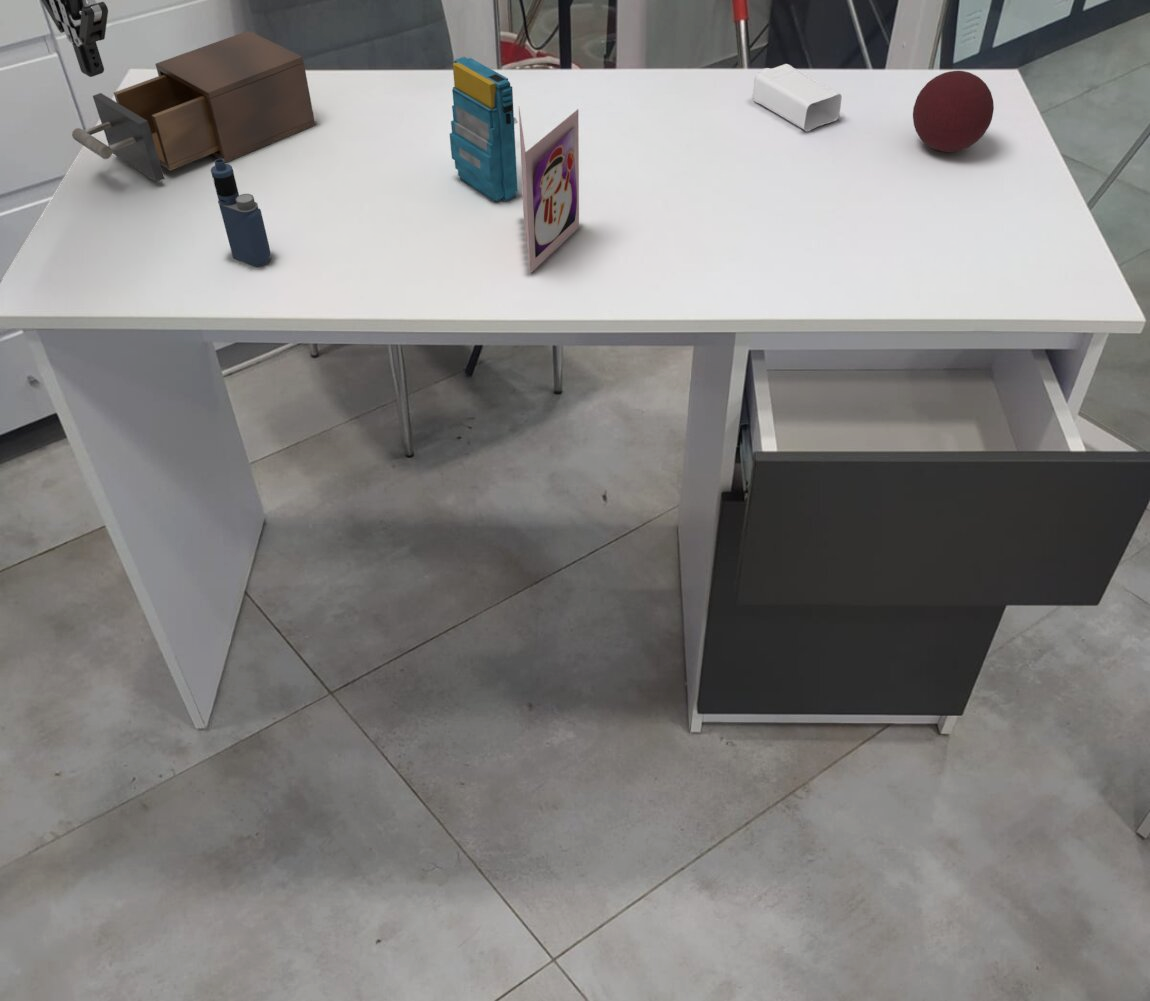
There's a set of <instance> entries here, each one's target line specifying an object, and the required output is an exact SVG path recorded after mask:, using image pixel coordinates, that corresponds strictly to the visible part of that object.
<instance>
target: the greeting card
mask: <svg viewBox="0 0 1150 1001" xmlns="http://www.w3.org/2000/svg"><path fill="white" fill-rule="evenodd" d="M520 108H521V107H518V119H519V120H518V122H519V144H520V145H519V146H520V165H521V185H522V186H521V188H522V210H523V225H524V233H525V241H526V248H527V256H528V264H529V273H530V274H532V273H533V272H534V271H536V269H537V268H539V267H540V265H542V263H544V262H545V261H546V260H547V259H548V258H549V257H550V256H551V255H552V254H553V253H554V252H555V251H556V250H557V249H558V248H559V247H560V246H561V245H563V243H565V241H566V240H568V239H569V237H570V236H571V235H572V234H574V233H575V232H576V231H577V230H578V229H579V228H580V164H579V162H580V156H579V155H580V154H579V153H580V152H579V149H580V148H579V146H580V144H579V141H580V140H579V139H580V138H579V133H580V132H579V126H580V125H579V108H577V109H575V111H573V113H571V114H570V115H569V116H567V117H566V118H565V119H563V121H562V122H560V123H559V124H558V125H557V126H555V127H554V128H552V130H551V131H549V132H548V133H547V134H546V135H544V136H543V137H542V138H541V139H539V141H538V142H537V141H536V143H534V145H533V146H531V147H530V148H529V149H528V150H527V151H526V144H525V136H524V130H523V121H522V115H521V109H520Z"/></svg>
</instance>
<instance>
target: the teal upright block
mask: <svg viewBox="0 0 1150 1001" xmlns="http://www.w3.org/2000/svg"><path fill="white" fill-rule="evenodd" d="M452 72H453V83H454V84H453V85H454V86H453V87H452V92H451V93H452V101H453V103H452V104H453V105H451V110H452V118H453V119H452V120H451V121H450V125H451V126H450V127H451V132H450V133H449V142H450V143H449V144H450V154H451V159H452V160H454V169H455V170H457V176H459V179H460V180H461V181H462V182H464V183H465V184H467V185H468V186H470V187H471V188H473V189H475V190H476V191H477V192H479V193H480V194H482V195H483V196H485V197H487V198H488V199H489V200H491V201H492V202H494V203H496V202H499V201H501V200H503V201H505V202H508V201H511V200H513V199H515V198H516V193H517V192H518V172H517V154H516V153H517V152H516V133H515V132H516V131H515V124H514V118H515V112H514V96H513V95H514V93H513V86H511V82H510V81H509V78H508V77H506V76H504V75H503V74H500V73H499V72H497V71H495V70H494V69H492V68H490V67H488V66H486V65H484V64H483V63H481V62H480V61H477V60H475V59H473V58H472V57H469V58H467V57H466V56H462V57H459V58H456V59H454V60H453V63H452Z"/></svg>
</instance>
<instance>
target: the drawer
mask: <svg viewBox="0 0 1150 1001" xmlns="http://www.w3.org/2000/svg"><path fill="white" fill-rule="evenodd" d="M113 96H114V99H115V100H113V99H112V98H110V97H109V96H107V95H105V94H104V93H102V92H99V93H97V94H94V95H92V98H93V102H94V104H95V107H96V111H97V114H98V117H99V120H100V124H98V125H95V126H92V127H89V128H87V129H82V128H79V127H77V128H74V129H73V130H72V132H71V136H72V139H73V140H74V141H76V142H77V143H78V144H80V145H82V146H83V147H85V148H86V149H88V150H89V151H90V152H93V153H94V154H95V155H97V156H98V157H100V158H101V159H104V160H108V159H110V158H111V157H112V155H114V156H115V157H117V158H119V159H120V160H122V161H123V162H125V163H127V164H128V165H130V166H131V167H133V168H134V169H136V170H138V171H139V172H141V173H142V174H144V175H145V176H147V177H148V178H150V179H151V180H153V181H154V182H156V183H157V182H160V181H162V180H164V179H165V175H164V172H163V169H162V167H164V168H165V169H167V170H169V171H174V170H176V169H178V168H180V167H183V166H185V165H188V164H190V163H192V162H195V161H197V160H200V159H202V158H205V157H208V156H209V155H212V153H214V152H217V151H219V150H220V149H219V145H218V141H217V137H216V133H215V129H214V125H213V121H212V117H211V114H210V110H209V106H208V102H207V98H206V96H204V95H202V94H201V93H199V92H197V91H195V90H193V89H191V88H190V87H188V86H186V85H184V84H182V83H181V82H179V81H177V80H175V79H173V78H172V77H170V76H168V75H166V74H164V75H161V76H155V77H152V78H150V79H147V80H145V81H142V82H139V83H136V84H133V85H130V86H128V87H125V88H122V89H119V90H117V91H114V92H113ZM102 131H103V132H104V135H105V139H106V142H107V144H108V145H107V144H106V143H104V142H102V141H100V139H98V138H97V137H95V136H93V135H95V134H97V133H100V132H102Z"/></svg>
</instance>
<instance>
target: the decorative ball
mask: <svg viewBox="0 0 1150 1001" xmlns="http://www.w3.org/2000/svg"><path fill="white" fill-rule="evenodd" d="M912 108H913V110H912V120H913V126H914V129H915V132H916V134H917V136H918V137H919V139H920V140H921V141H922V142H923V143H924V144H925V145H927V146H928V147H929V148H931V149H933V150H936V151H939V152H944V153H954V152H960V151H963V150H965V149H967V148H970V147H971V146H973V145H974V144H976V143H977V142H979V141H980V139H982V137H984V135H985V134H986V132H987V131H988V129H989V127H990V126H991V123H992V120H993V116H994V109H995V106H994V98H993V95H992V91H991V90H990V88H989V86H988V84H986V82H985V81H984V80H983V79H981V78H980V76H978V75H976V74H974V73H972V72H968V71H965V70H952V71H946V72H943V73H940V74H939V75H936V76H935V77H933V78H931V80H929V81H928V82H927V83H925V85H924V86H923V88H922V89H920V91H919V93H918V94H917V96H916V99H915V102H914V105H913V107H912Z"/></svg>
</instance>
